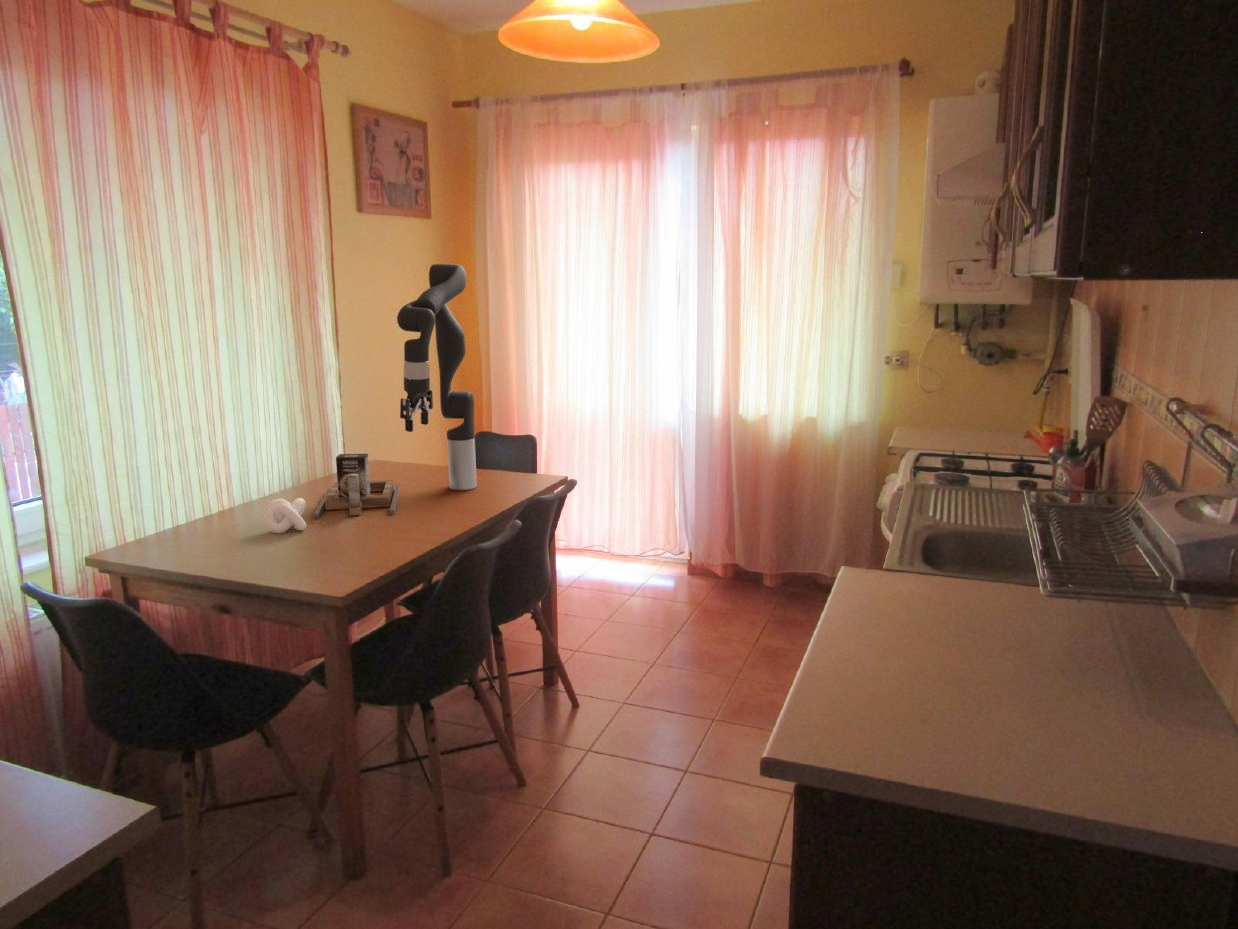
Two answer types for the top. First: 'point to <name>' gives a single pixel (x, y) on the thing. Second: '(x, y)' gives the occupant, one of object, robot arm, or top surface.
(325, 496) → the guide rails
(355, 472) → the coffee box
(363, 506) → the frame
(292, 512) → the white knot sculpture
